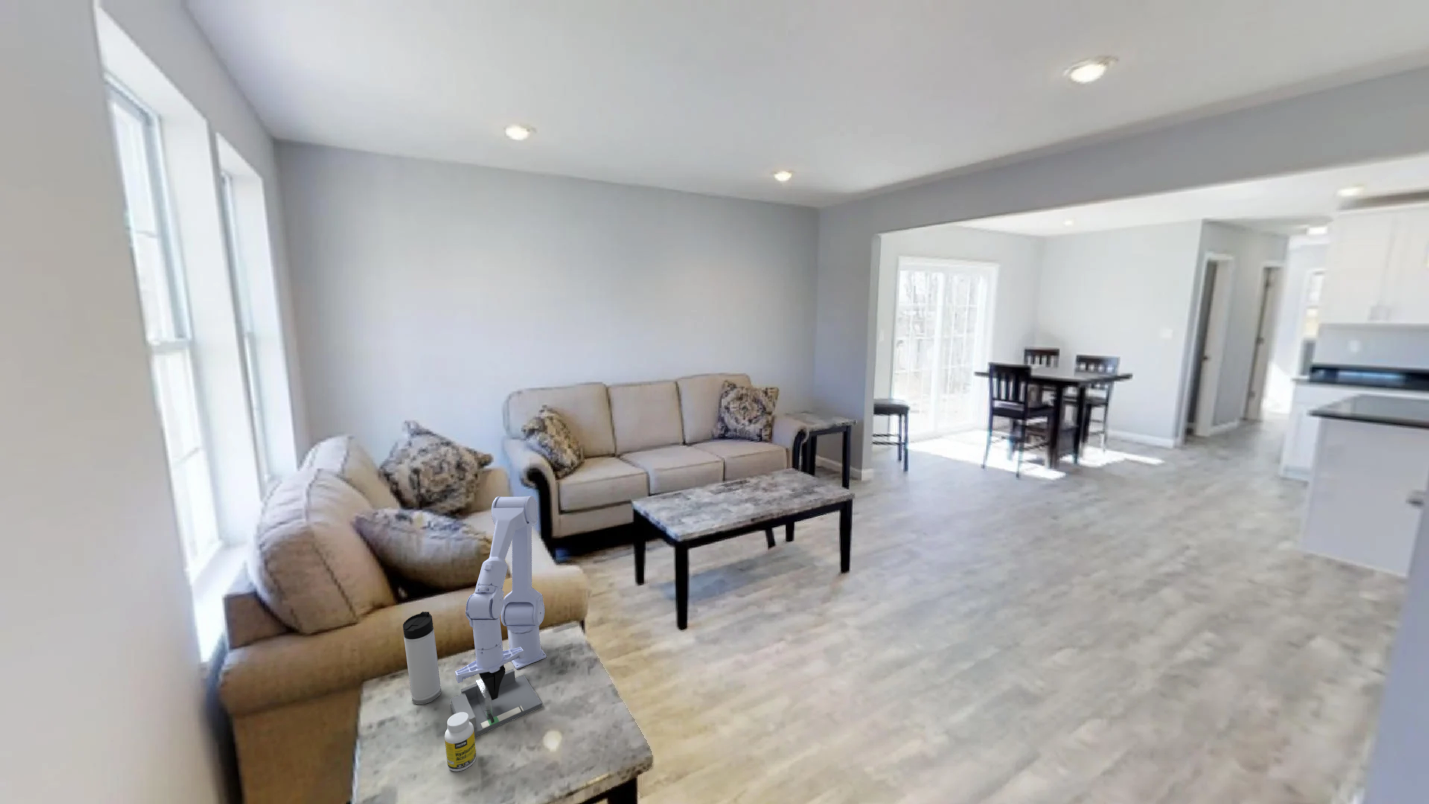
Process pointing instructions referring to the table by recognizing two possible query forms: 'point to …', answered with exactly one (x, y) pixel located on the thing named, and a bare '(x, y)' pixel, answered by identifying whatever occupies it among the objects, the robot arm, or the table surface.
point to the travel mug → (422, 658)
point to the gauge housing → (497, 703)
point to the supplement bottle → (460, 742)
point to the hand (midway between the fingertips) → (493, 696)
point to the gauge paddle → (484, 699)
